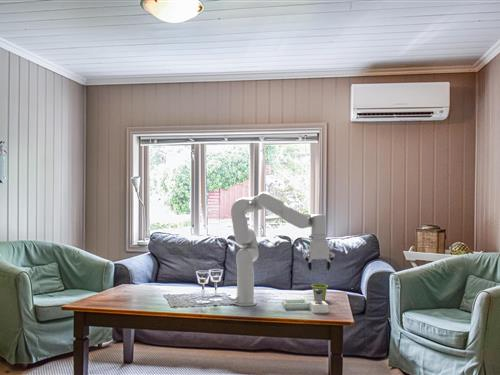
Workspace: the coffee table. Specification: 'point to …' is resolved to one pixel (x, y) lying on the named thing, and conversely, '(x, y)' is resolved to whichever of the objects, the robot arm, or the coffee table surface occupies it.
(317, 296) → the pin
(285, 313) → the coffee table surface
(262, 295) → the coffee table surface
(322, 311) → the socket block
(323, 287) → the plant pot
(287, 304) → the tray
